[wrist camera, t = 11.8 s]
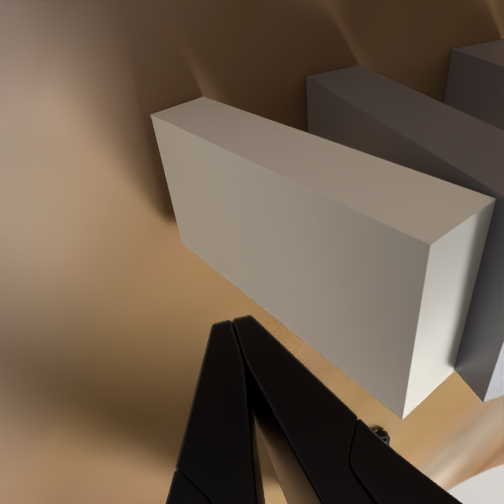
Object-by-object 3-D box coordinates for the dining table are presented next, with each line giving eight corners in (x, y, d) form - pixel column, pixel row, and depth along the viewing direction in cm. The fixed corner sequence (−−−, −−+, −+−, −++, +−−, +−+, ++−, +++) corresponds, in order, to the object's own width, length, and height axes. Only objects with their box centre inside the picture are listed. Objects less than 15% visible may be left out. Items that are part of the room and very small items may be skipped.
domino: (359, 65, 16) (639, 192, 8) (355, 191, 19) (554, 375, 11) (306, 75, 15) (543, 221, 7) (310, 203, 18) (483, 402, 10)
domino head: (203, 96, 15) (496, 198, 8) (224, 222, 18) (452, 371, 11) (150, 114, 14) (430, 244, 7) (182, 243, 17) (402, 419, 10)
